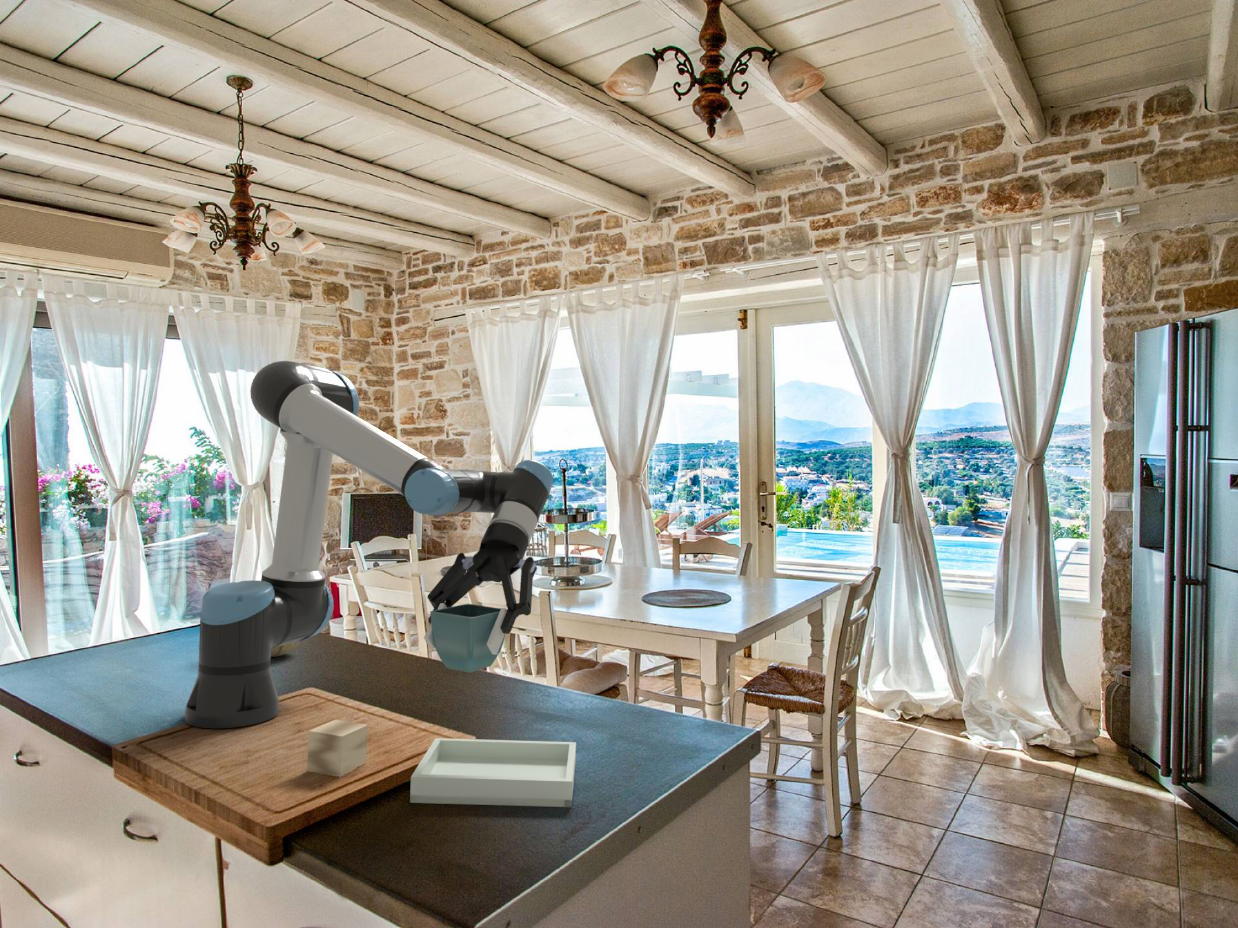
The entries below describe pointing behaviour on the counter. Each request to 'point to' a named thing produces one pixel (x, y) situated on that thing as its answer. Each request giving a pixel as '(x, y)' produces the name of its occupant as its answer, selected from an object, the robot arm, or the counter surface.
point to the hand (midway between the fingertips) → (460, 646)
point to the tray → (495, 773)
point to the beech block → (337, 747)
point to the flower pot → (464, 636)
